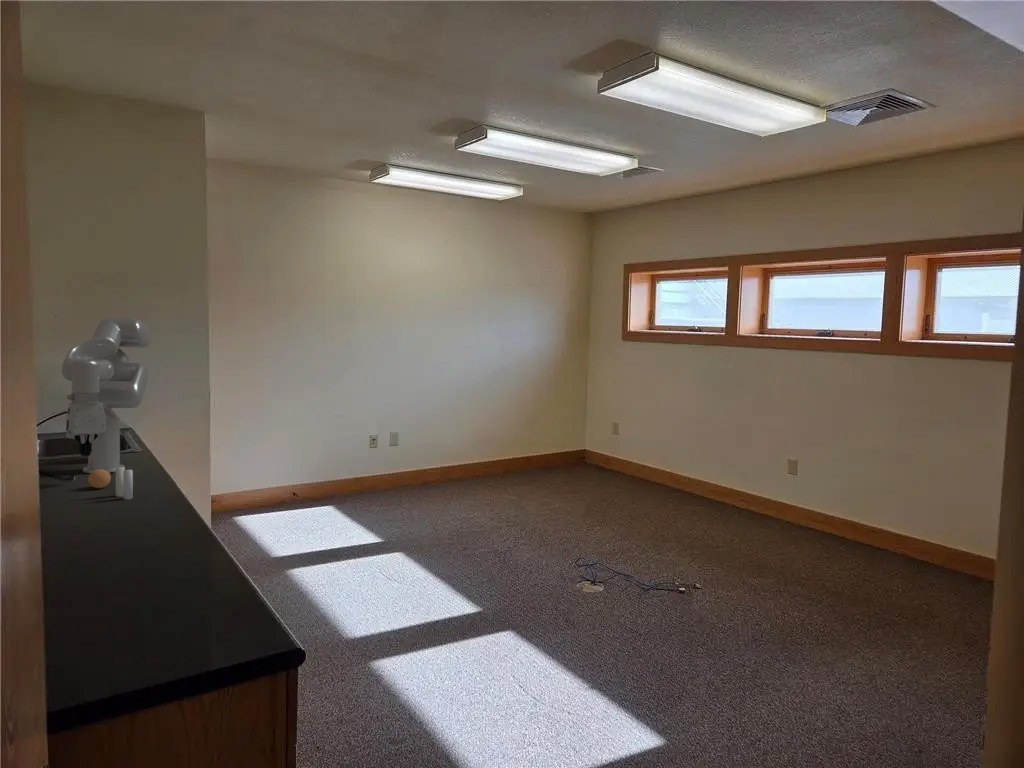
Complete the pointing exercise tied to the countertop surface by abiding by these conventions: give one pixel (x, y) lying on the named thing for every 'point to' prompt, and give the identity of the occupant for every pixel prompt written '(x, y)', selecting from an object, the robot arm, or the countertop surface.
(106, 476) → the ball
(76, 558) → the countertop surface
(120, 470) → the pin
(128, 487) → the pin
